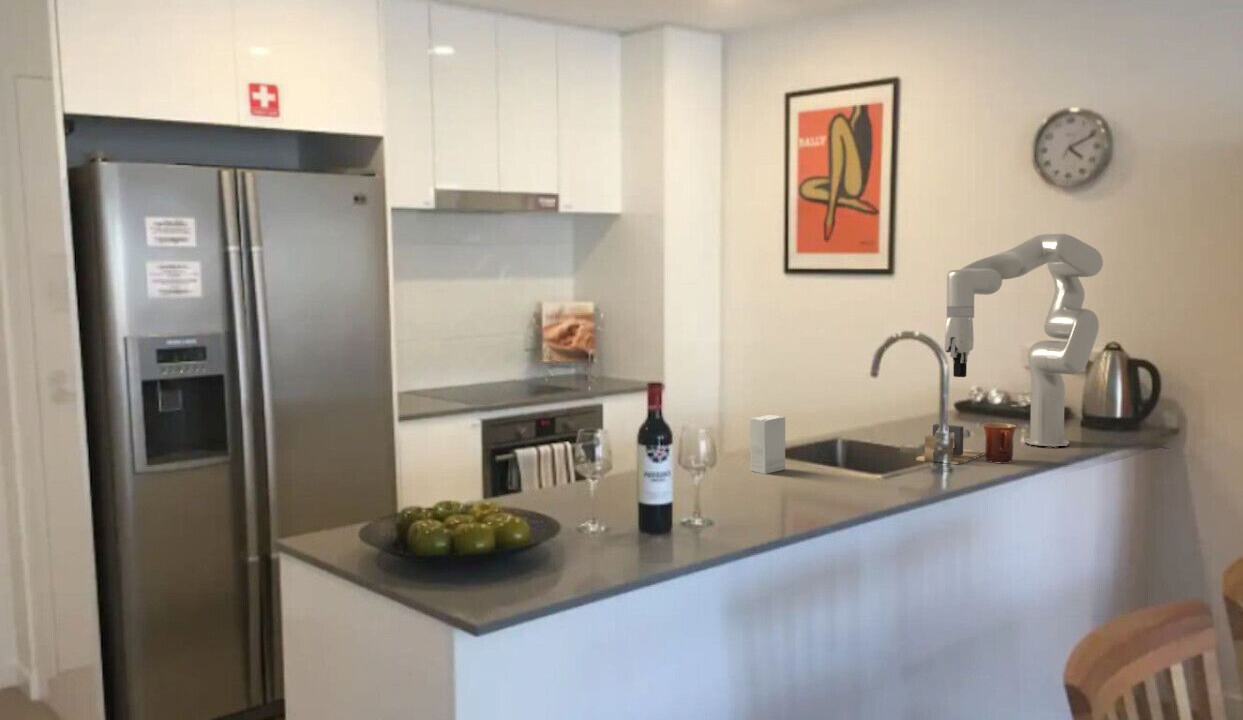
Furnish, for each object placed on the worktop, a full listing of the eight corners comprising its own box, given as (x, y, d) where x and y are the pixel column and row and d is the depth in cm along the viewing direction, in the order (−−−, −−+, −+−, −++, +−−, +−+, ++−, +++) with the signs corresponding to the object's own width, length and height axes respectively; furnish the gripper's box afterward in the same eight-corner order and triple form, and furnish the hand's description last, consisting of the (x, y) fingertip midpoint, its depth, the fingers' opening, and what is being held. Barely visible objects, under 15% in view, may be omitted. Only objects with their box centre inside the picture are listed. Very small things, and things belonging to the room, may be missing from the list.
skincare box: (770, 467, 291) (770, 413, 290) (786, 470, 286) (786, 416, 285) (748, 471, 286) (748, 417, 284) (765, 474, 281) (765, 419, 280)
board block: (946, 450, 313) (946, 427, 313) (985, 454, 306) (986, 430, 305) (916, 460, 298) (916, 435, 298) (957, 465, 291) (957, 439, 290)
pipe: (961, 437, 310) (961, 429, 310) (970, 438, 308) (970, 429, 308) (935, 446, 296) (935, 437, 296) (944, 447, 295) (944, 438, 294)
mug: (978, 458, 299) (978, 423, 299) (1009, 458, 299) (1009, 422, 298) (992, 466, 287) (992, 429, 287) (1024, 466, 287) (1025, 429, 286)
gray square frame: (936, 451, 303) (936, 423, 303) (963, 454, 298) (963, 426, 297) (932, 452, 302) (932, 424, 301) (959, 455, 296) (959, 427, 296)
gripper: (958, 311, 310) (958, 373, 312) (936, 314, 299) (936, 378, 300) (983, 311, 305) (982, 374, 307) (962, 314, 294) (961, 380, 295)
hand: (959, 376), depth 303 cm, fingers closed
